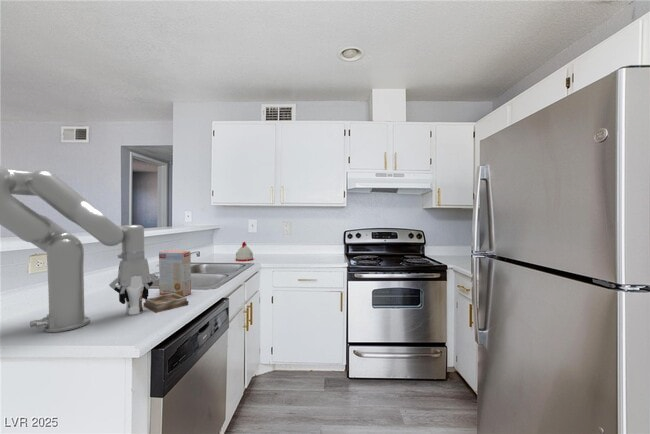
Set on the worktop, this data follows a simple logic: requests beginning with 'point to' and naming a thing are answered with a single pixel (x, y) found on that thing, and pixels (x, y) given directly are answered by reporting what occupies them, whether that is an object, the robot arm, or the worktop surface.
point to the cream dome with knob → (244, 253)
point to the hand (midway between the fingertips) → (134, 300)
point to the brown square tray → (165, 302)
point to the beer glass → (134, 296)
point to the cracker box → (175, 272)
